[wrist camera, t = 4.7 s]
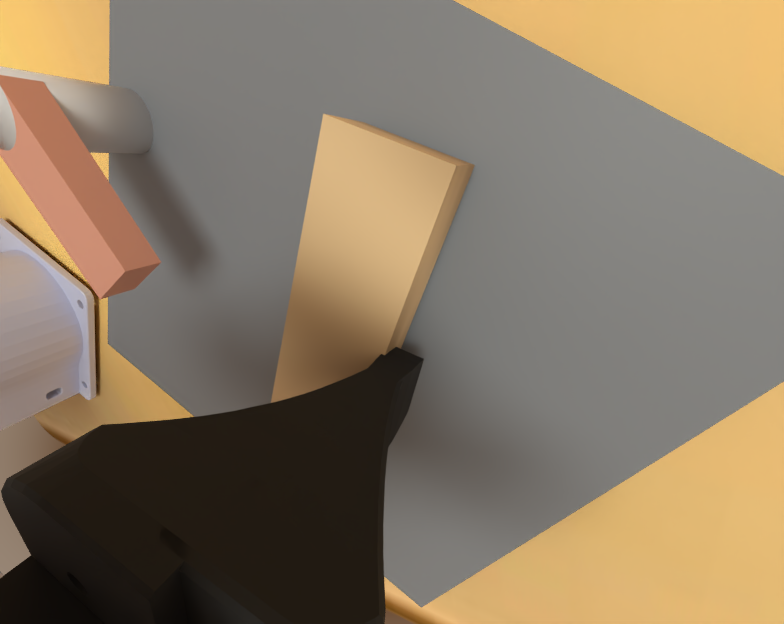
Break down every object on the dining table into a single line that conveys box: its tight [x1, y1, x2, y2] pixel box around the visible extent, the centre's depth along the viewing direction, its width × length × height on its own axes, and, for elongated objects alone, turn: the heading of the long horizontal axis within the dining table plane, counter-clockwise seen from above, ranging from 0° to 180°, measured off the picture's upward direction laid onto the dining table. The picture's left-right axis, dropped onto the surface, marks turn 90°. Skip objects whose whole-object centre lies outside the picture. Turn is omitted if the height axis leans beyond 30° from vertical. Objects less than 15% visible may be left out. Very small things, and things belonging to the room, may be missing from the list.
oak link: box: [271, 114, 475, 403], centre depth 10 cm, size 13×4×3 cm, turn 161°
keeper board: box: [0, 0, 784, 607], centre depth 11 cm, size 19×20×5 cm
